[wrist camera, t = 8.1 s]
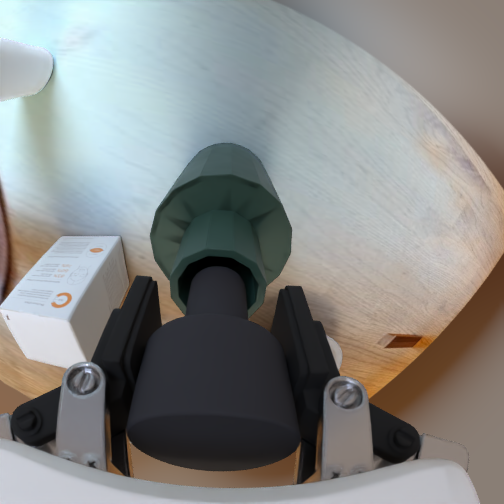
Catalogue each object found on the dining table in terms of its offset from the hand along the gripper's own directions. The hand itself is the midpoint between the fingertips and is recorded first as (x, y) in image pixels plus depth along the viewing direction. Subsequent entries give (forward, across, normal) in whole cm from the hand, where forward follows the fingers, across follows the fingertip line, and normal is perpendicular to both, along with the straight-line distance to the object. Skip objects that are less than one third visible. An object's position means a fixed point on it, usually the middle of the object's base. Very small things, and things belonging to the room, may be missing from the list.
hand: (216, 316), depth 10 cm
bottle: (+17, 0, 0) cm, 17 cm away
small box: (+18, +14, +9) cm, 24 cm away
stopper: (+2, 0, 0) cm, 2 cm away
